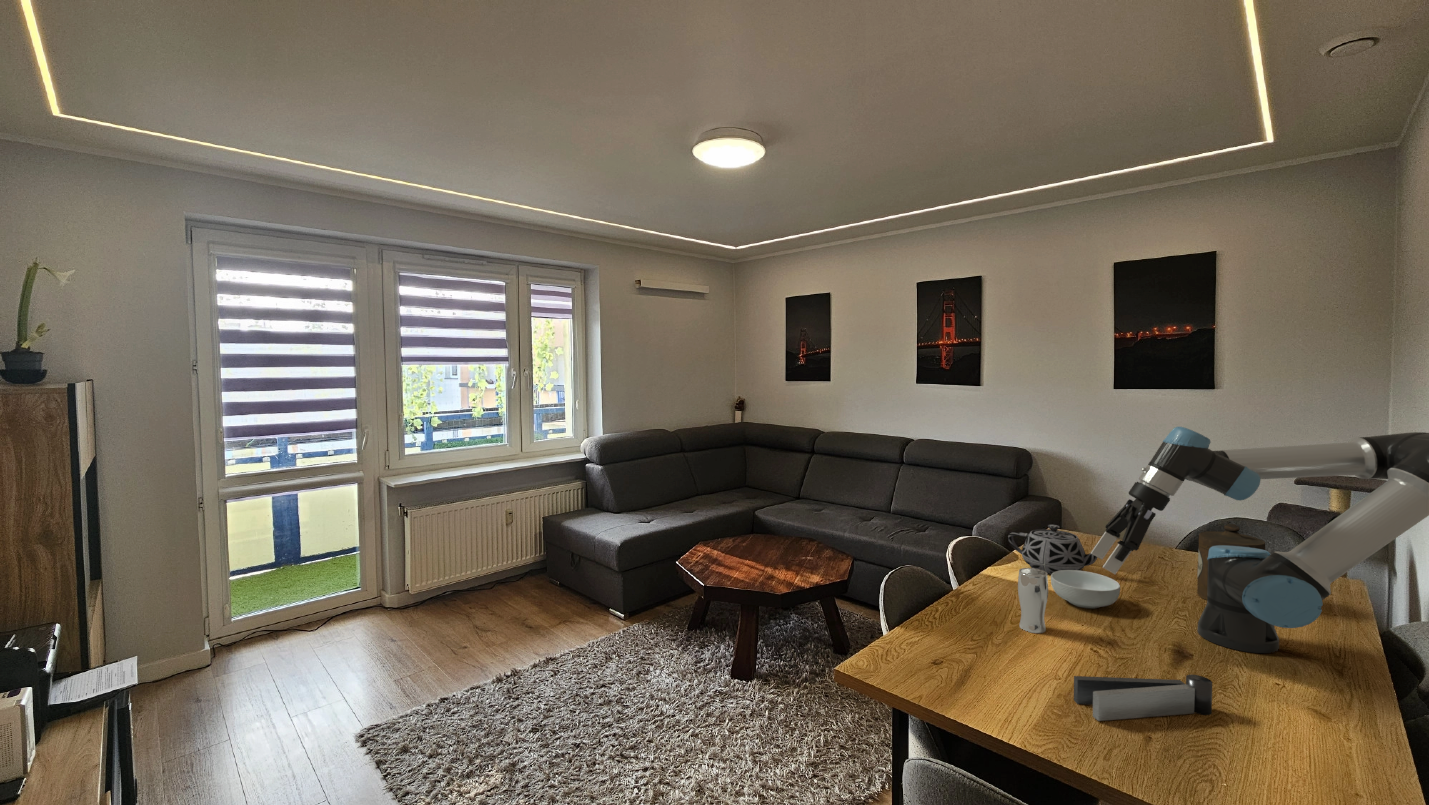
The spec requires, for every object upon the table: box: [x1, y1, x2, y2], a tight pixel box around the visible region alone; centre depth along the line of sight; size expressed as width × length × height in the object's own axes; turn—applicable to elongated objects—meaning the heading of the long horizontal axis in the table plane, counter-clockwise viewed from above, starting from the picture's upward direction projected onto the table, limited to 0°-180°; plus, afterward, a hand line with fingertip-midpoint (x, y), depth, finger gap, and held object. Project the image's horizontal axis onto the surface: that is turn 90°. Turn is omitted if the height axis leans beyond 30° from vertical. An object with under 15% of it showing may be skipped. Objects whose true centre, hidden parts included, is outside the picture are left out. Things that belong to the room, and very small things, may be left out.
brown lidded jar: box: [1196, 523, 1266, 601], centre depth 172 cm, size 15×15×22 cm
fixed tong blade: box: [1073, 674, 1213, 716], centre depth 119 cm, size 24×4×6 cm, turn 84°
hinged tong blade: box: [1092, 683, 1195, 722], centre depth 115 cm, size 20×2×5 cm, turn 96°
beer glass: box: [1017, 567, 1049, 634], centre depth 155 cm, size 7×7×15 cm
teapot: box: [1007, 524, 1099, 575], centre depth 201 cm, size 19×31×15 cm, turn 47°
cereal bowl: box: [1050, 570, 1121, 609], centre depth 172 cm, size 17×17×7 cm
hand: (1102, 563), depth 144 cm, fingers open, 13 cm apart
